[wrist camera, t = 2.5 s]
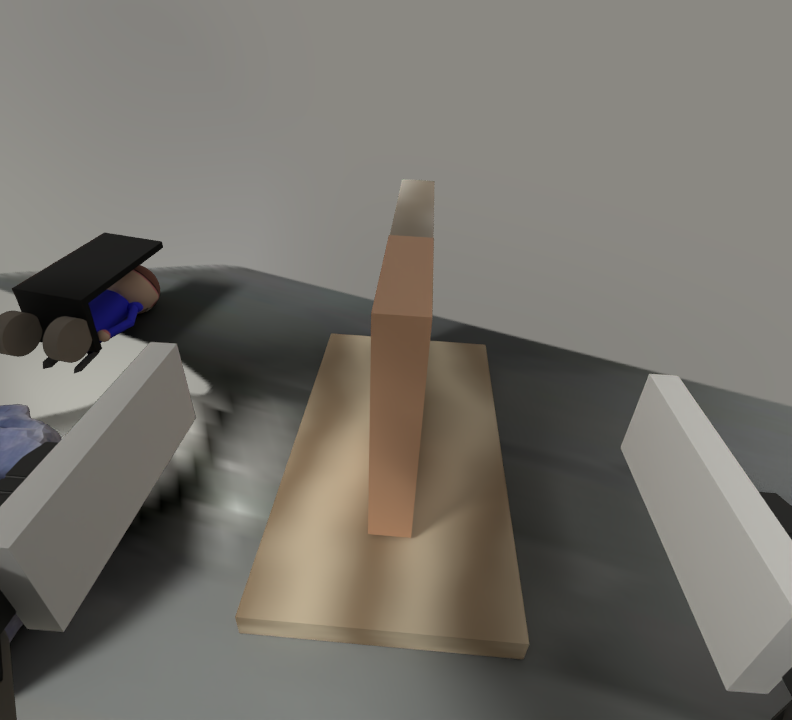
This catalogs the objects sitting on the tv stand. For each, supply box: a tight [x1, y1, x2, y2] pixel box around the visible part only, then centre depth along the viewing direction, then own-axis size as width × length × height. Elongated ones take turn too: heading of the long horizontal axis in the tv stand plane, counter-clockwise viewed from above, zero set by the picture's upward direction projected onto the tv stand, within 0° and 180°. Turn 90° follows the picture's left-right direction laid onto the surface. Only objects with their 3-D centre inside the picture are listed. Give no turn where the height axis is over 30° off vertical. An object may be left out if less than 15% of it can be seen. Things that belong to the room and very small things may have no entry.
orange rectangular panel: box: [368, 235, 434, 538], centre depth 27 cm, size 2×9×14 cm, turn 176°
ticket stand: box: [235, 179, 529, 659], centre depth 31 cm, size 14×26×16 cm, turn 176°
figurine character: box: [0, 233, 163, 373], centre depth 44 cm, size 7×8×15 cm
